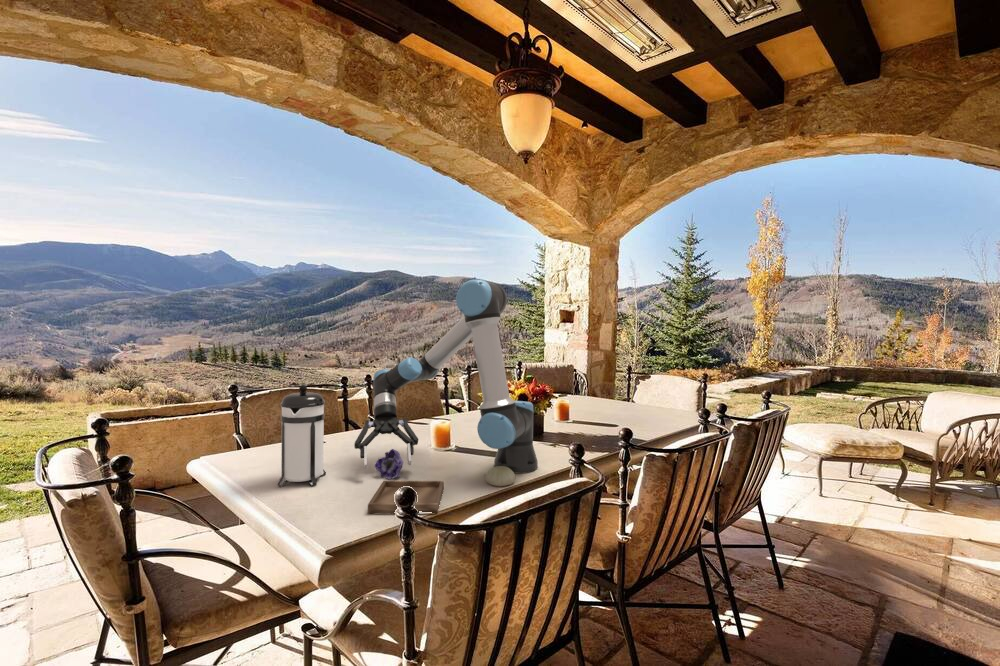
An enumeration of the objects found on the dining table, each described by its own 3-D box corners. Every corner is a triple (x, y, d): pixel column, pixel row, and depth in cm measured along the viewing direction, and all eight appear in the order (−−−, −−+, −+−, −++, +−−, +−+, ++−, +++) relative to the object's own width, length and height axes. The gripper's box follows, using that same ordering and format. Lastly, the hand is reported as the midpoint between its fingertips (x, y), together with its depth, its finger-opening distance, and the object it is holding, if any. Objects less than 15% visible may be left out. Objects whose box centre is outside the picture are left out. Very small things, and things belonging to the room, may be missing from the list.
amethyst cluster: (388, 449, 156) (384, 443, 147) (410, 460, 155) (408, 455, 146) (374, 474, 152) (369, 470, 143) (396, 486, 151) (393, 482, 142)
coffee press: (339, 480, 143) (340, 385, 143) (287, 493, 132) (287, 389, 131) (316, 467, 156) (316, 379, 155) (266, 478, 144) (266, 383, 144)
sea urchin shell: (521, 479, 141) (504, 463, 139) (504, 499, 139) (486, 483, 137) (512, 470, 149) (495, 454, 148) (495, 489, 148) (479, 473, 146)
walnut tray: (443, 489, 137) (444, 480, 137) (437, 514, 119) (437, 504, 119) (383, 488, 136) (383, 480, 136) (367, 513, 119) (367, 504, 118)
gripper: (420, 413, 165) (426, 467, 151) (347, 417, 157) (346, 474, 143) (422, 401, 159) (428, 456, 145) (347, 404, 152) (346, 462, 138)
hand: (387, 465), depth 144 cm, fingers open, 13 cm apart
